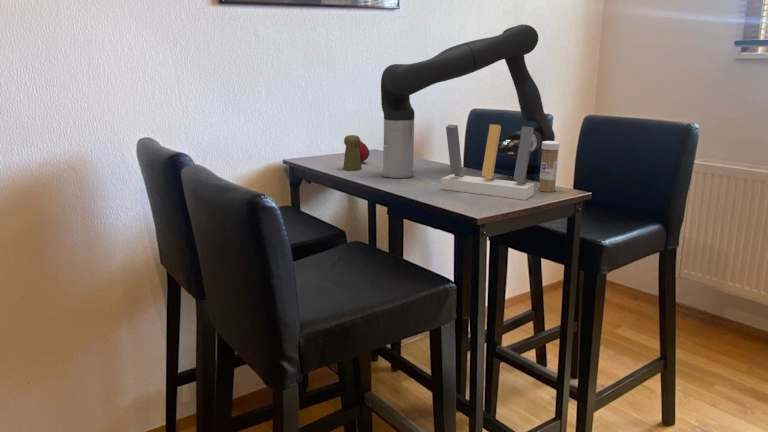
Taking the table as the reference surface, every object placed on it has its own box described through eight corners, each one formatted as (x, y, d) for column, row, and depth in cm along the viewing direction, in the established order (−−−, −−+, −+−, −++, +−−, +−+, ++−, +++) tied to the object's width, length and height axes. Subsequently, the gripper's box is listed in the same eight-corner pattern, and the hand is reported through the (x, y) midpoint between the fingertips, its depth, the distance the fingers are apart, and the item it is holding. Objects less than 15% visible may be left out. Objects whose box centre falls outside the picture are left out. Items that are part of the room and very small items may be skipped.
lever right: (512, 182, 157) (522, 126, 157) (515, 183, 158) (524, 127, 158) (522, 183, 155) (531, 126, 155) (524, 184, 157) (533, 128, 157)
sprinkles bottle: (535, 190, 164) (539, 141, 161) (543, 187, 167) (546, 140, 164) (551, 193, 161) (555, 143, 158) (558, 190, 165) (562, 141, 161)
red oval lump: (372, 162, 205) (372, 139, 203) (363, 165, 200) (362, 141, 198) (358, 161, 208) (358, 138, 206) (348, 163, 203) (348, 140, 201)
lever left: (451, 177, 166) (445, 127, 159) (454, 173, 168) (448, 124, 160) (459, 178, 165) (454, 128, 157) (462, 174, 166) (457, 125, 159)
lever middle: (480, 178, 161) (489, 124, 161) (483, 179, 163) (492, 125, 163) (489, 179, 160) (499, 124, 160) (492, 180, 161) (501, 126, 162)
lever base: (440, 189, 166) (441, 177, 165) (451, 184, 171) (452, 173, 170) (524, 199, 153) (525, 187, 153) (533, 194, 159) (534, 182, 158)
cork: (359, 171, 190) (359, 136, 187) (340, 170, 191) (340, 136, 189) (363, 167, 196) (363, 134, 193) (345, 167, 197) (345, 133, 194)
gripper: (501, 129, 184) (479, 135, 170) (543, 132, 177) (524, 139, 163) (499, 153, 186) (477, 161, 172) (541, 157, 179) (522, 166, 165)
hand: (500, 150), depth 167 cm, fingers closed
